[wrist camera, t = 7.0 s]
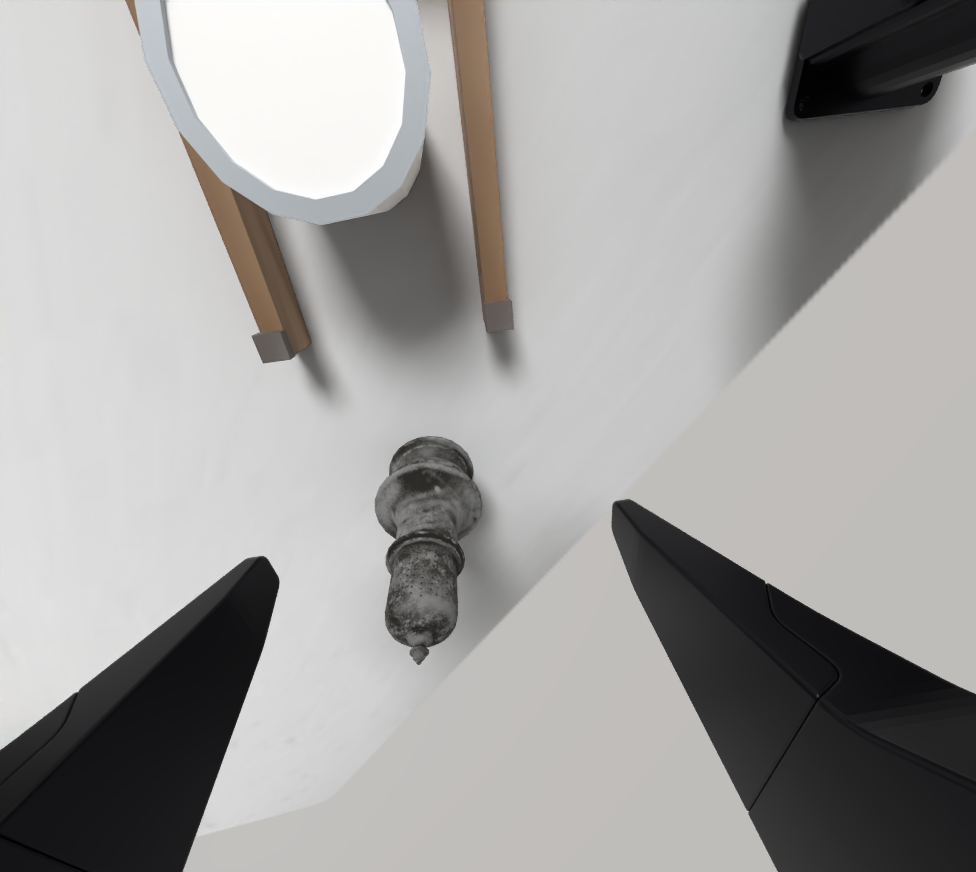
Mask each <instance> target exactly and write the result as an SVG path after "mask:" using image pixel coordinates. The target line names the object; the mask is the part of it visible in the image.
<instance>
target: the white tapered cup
mask: <svg viewBox="0 0 976 872" xmlns="http://www.w3.org/2000/svg"><path fill="white" fill-rule="evenodd" d="M134 1H135V7H136V13H137V19H138V25H139V31H140V37H141V43H142V49H143V55H144V60H145V62H146V64H147V66H148V69H149V71H150V73H151V75H152V77H153V79H154V81H155V83H156V85H157V88H158V90H159V92H160V94H161V96H162V98H163V100H164V102H165V104H166V107H167V109H168V111H169V113H170V115H171V117H172V119H173V121H174V123H175V126H176V128H177V130H178V131H179V132H180V133H181V134H182V135H183V137H184V138H185V139H186V140H187V141H188V142H189V144H190V145H191V146H192V147H193V148H194V149H195V151H196V152H197V153H198V154H199V155H200V157H201V158H202V159H203V160H204V161H205V162H206V164H207V165H208V166H209V167H210V168H211V169H212V171H213V172H214V173H215V174H216V175H217V176H218V178H219V179H220V180H221V181H222V182H223V183H225V184H226V185H228V186H229V187H231V188H232V189H234V190H235V191H237V192H238V193H240V194H242V195H243V196H245V197H246V198H248V199H249V200H251V201H252V202H254V203H255V204H257V205H259V206H260V207H262V208H263V209H265V210H266V211H268V212H269V213H271V214H273V215H278V216H282V217H287V218H291V219H296V220H300V221H305V222H309V223H313V224H318V225H325V224H330V223H335V222H339V221H344V220H349V219H354V218H359V217H364V216H368V215H373V214H377V213H382V212H386V211H389V210H390V209H392V208H393V207H394V206H395V205H397V204H398V203H399V202H400V201H401V200H403V199H404V198H405V197H406V196H407V195H408V194H409V192H410V190H411V188H412V186H413V184H414V182H415V179H416V177H417V175H418V173H419V171H420V166H421V159H422V152H423V145H424V138H425V128H426V118H427V108H428V98H429V88H430V78H431V71H430V66H429V61H428V56H427V51H426V45H425V40H424V35H423V30H422V25H421V20H420V15H419V10H418V5H417V0H134Z"/></svg>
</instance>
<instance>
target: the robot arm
mask: <svg viewBox="0 0 976 872" xmlns="http://www.w3.org/2000/svg"><path fill="white" fill-rule="evenodd" d="M975 63H976V0H810V2H809V7H808V12H807V16H806V21H805V25H804V30H803V35H802V39H801V44H800V49H799V53H798V58H797V62H796V67H795V72H794V76H793V81H792V85H791V90H790V95H789V99H788V104H787V109H786V115H787V118H788V119H789V120H790V121H794V122H795V121H803V120H812V119H820V118H828V117H837V116H845V115H854V114H862V113H871V112H879V111H887V110H896V109H904V108H912V107H915V106H919V105H922V104H925V103H927V102H928V101H929V100H931V99H932V97H933V96H934V95H935V93H936V91H937V89H938V86H939V84H940V81H941V78H942V75H943V74H946V73H949V72H952V71H955V70H958V69H961V68H964V67H967V66H970V65H973V64H975ZM922 88H923V89H922ZM921 90H922V93H921ZM801 100H802V101H803V108H802V110H800V102H801ZM612 531H613V535H614V537H615V540H616V543H617V545H618V548H619V550H620V553H621V556H622V558H623V561H624V564H625V566H626V569H627V572H628V575H629V577H630V580H631V582H632V585H633V587H634V590H635V592H636V594H637V596H638V598H639V600H640V602H641V604H642V606H643V608H644V609H645V612H646V614H647V615H648V618H649V619H650V622H651V623H652V625H653V627H654V629H655V631H656V633H657V635H658V637H659V639H660V641H661V643H662V645H663V647H664V649H665V651H666V653H667V655H668V657H669V659H670V661H671V662H672V665H673V667H674V669H675V671H676V672H677V674H678V676H679V678H680V680H681V682H682V684H683V686H684V688H685V690H686V692H687V694H688V696H689V698H690V700H691V702H692V704H693V706H694V708H695V710H696V712H697V714H698V715H699V718H700V720H701V722H702V723H703V725H704V727H705V729H706V731H707V733H708V735H709V737H710V739H711V741H712V743H713V745H714V747H715V749H716V751H717V753H718V755H719V757H720V759H721V761H722V763H723V765H724V766H725V769H726V770H727V773H728V774H729V776H730V778H731V780H732V782H733V784H734V786H735V788H736V790H737V792H738V794H739V796H740V798H741V800H742V802H743V803H744V806H745V808H746V809H747V810H748V811H749V816H750V818H751V820H752V822H753V824H754V826H755V828H756V830H757V832H758V834H759V836H760V838H761V840H762V841H763V844H764V845H765V847H766V850H767V851H768V853H769V855H770V857H771V859H772V861H773V863H774V865H775V867H776V869H777V871H778V872H976V694H974V693H972V692H970V691H967V690H965V689H963V688H961V687H959V686H957V685H955V684H953V683H950V682H948V681H946V680H944V679H942V678H940V677H938V676H937V675H935V674H933V673H931V672H929V671H927V670H925V669H923V668H921V667H920V666H918V665H916V664H914V663H912V662H910V661H908V660H906V659H904V658H902V657H901V656H899V655H897V654H895V653H893V652H891V651H889V650H887V649H885V648H883V647H881V646H880V645H877V644H876V643H874V642H872V641H870V640H868V639H866V638H864V637H862V636H860V635H859V634H857V633H855V632H853V631H851V630H849V629H847V628H846V627H843V626H842V625H840V624H838V623H836V622H835V621H833V620H831V619H829V618H827V617H825V616H824V615H822V614H820V613H818V612H816V611H814V610H813V609H811V608H809V607H808V606H806V605H804V604H802V603H801V602H799V601H797V600H795V599H794V598H792V597H791V596H789V595H787V594H785V593H784V592H782V591H780V590H779V589H777V588H776V587H774V586H772V585H771V584H769V583H767V584H766V583H765V581H764V580H762V579H761V578H759V577H757V576H756V575H754V574H752V573H751V572H749V571H747V570H746V569H744V568H742V567H741V566H739V565H738V564H736V563H734V562H733V561H731V560H729V559H728V558H726V557H724V556H723V555H721V554H719V553H718V552H716V551H714V550H713V549H711V548H710V547H708V546H706V545H705V544H703V543H701V542H700V541H698V540H696V539H695V538H693V537H691V536H690V535H688V534H687V533H685V532H683V531H682V530H680V529H678V528H677V527H675V526H673V525H671V524H670V523H668V522H667V521H665V520H664V519H662V518H660V517H659V516H657V515H655V514H653V513H652V512H650V511H649V510H647V509H645V508H644V507H642V506H640V505H638V504H637V503H636V502H634V501H632V500H630V499H625V500H619V501H615V502H614V503H613V506H612ZM278 589H279V577H278V575H277V574H276V572H275V570H274V569H273V567H272V565H271V564H270V562H269V560H268V559H267V558H266V557H264V556H258V557H251V558H247V559H245V560H244V561H243V562H241V563H240V564H239V565H237V566H236V567H235V568H234V569H232V570H231V571H230V572H228V573H227V574H226V575H225V576H223V577H222V578H221V579H220V580H218V581H217V582H216V583H214V584H213V585H212V586H211V587H209V588H208V589H207V590H206V591H204V592H203V593H202V594H200V595H199V596H198V597H197V598H195V599H194V600H193V601H192V602H190V603H189V604H188V605H186V606H185V607H184V608H183V609H181V610H180V611H179V612H177V613H176V614H175V615H174V616H172V617H171V618H170V619H169V620H167V621H166V622H165V623H163V624H162V625H161V626H160V627H158V628H157V629H156V630H155V631H153V632H152V633H151V634H149V635H148V636H147V637H146V638H144V639H143V640H142V641H141V642H139V643H138V644H137V645H135V646H134V647H133V648H132V649H130V650H129V651H128V652H126V653H125V654H124V655H123V656H121V657H120V658H119V659H118V660H116V661H115V662H114V663H112V664H111V665H110V666H109V667H107V668H106V669H105V670H104V671H102V672H101V673H100V674H98V675H97V676H96V677H95V678H93V679H92V680H91V681H89V682H88V683H87V684H86V685H84V686H83V687H82V688H81V689H80V690H79V692H77V693H74V694H73V695H71V696H70V697H69V698H68V699H66V700H65V701H64V702H63V703H61V704H60V705H59V706H58V707H56V708H55V709H54V710H52V711H51V712H50V713H49V714H47V715H46V716H45V717H43V718H42V719H41V720H39V721H38V722H37V723H36V724H34V725H33V726H32V727H30V728H29V729H28V730H26V731H25V732H24V733H23V734H21V735H20V736H19V737H17V738H16V739H15V740H13V741H12V742H11V743H9V744H8V745H7V746H5V747H4V748H3V749H1V750H0V872H183V869H184V867H185V864H186V861H187V858H188V855H189V853H190V850H191V847H192V844H193V841H194V839H195V836H196V833H197V830H198V828H199V825H200V822H201V819H202V817H203V814H204V811H205V808H206V806H207V803H208V800H209V797H210V794H211V792H212V789H213V786H214V783H215V781H216V778H217V775H218V772H219V770H220V767H221V764H222V761H223V758H224V756H225V753H226V750H227V747H228V745H229V742H230V739H231V736H232V733H233V731H234V728H235V725H236V722H237V720H238V717H239V714H240V711H241V709H242V706H243V703H244V700H245V697H246V695H247V692H248V689H249V686H250V684H251V681H252V678H253V675H254V673H255V670H256V667H257V664H258V661H259V659H260V656H261V653H262V650H263V647H264V643H265V640H266V636H267V632H268V628H269V625H270V621H271V617H272V613H273V609H274V605H275V601H276V597H277V593H278Z"/></svg>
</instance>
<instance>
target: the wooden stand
mask: <svg viewBox="0 0 976 872" xmlns="http://www.w3.org/2000/svg"><path fill="white" fill-rule="evenodd" d="M125 1H126V3H127V5H128V8H129V10H130V13H131V15H132V18H133V20H134V23H135V25H136V28H137V30H138V33H139V35H140V31H139V25H138V19H137V13H136V7H135V1H134V0H125ZM448 8H449V17H450V26H451V35H452V44H453V52H454V61H455V70H456V79H457V88H458V97H459V106H460V114H461V123H462V132H463V141H464V150H465V159H466V168H467V176H468V185H469V194H470V203H471V212H472V221H473V230H474V238H475V247H476V256H477V265H478V274H479V283H480V292H481V300H482V309H483V318H484V322H485V324H486V331H487V333H491V332H499V331H506V330H513V329H514V325H513V312H512V301H511V300H507V288H506V275H505V263H504V250H503V238H502V226H501V213H500V201H499V188H498V176H497V163H496V151H495V139H494V126H493V114H492V101H491V89H490V76H489V64H488V51H487V39H486V27H485V14H484V2H483V0H448ZM179 134H180V136H181V138H182V141H183V143H184V146H185V148H186V151H187V153H188V156H189V158H190V161H191V163H192V166H193V168H194V170H195V173H196V175H197V178H198V180H199V183H200V185H201V188H202V190H203V193H204V195H205V198H206V200H207V202H208V205H209V207H210V210H211V212H212V215H213V217H214V220H215V222H216V225H217V227H218V230H219V232H220V234H221V237H222V239H223V242H224V244H225V247H226V249H227V252H228V254H229V257H230V259H231V262H232V264H233V266H234V269H235V271H236V274H237V276H238V279H239V281H240V284H241V286H242V289H243V291H244V294H245V296H246V298H247V301H248V303H249V306H250V308H251V311H252V313H253V316H254V318H255V321H256V323H257V326H258V328H259V331H260V333H257V334H255V335H253V336H252V338H253V341H254V343H255V345H256V348H257V350H258V353H259V355H260V357H261V360H262V362H263V363H269V362H277V361H284V360H291V359H292V358H293V357H295V355H296V354H297V353H298V352H300V351H301V350H303V349H304V348H305V347H307V346H308V345H309V344H311V340H310V337H309V335H308V332H307V329H306V326H305V323H304V320H303V317H302V314H301V311H300V308H299V305H298V303H297V300H296V297H295V294H294V291H293V288H292V285H291V282H290V279H289V276H288V274H287V271H286V268H285V265H284V262H283V259H282V256H281V253H280V250H279V247H278V244H277V242H276V239H275V236H274V233H273V230H272V227H271V224H270V221H269V218H268V215H267V212H266V210H265V209H263V208H262V207H260V206H259V205H257V204H255V203H254V202H252V201H251V200H249V199H248V198H246V197H245V196H243V195H242V194H240V193H238V192H237V191H235V190H234V189H232V188H231V187H229V186H228V185H226V184H225V183H223V182H222V181H221V180H220V179H219V178H218V176H217V175H216V174H215V173H214V172H213V171H212V169H211V168H210V167H209V166H208V165H207V164H206V162H205V161H204V160H203V159H202V158H201V157H200V155H199V154H198V153H197V152H196V151H195V149H194V148H193V147H192V146H191V145H190V144H189V142H188V141H187V140H186V139H185V138H184V137H183V135H182V134H181V133H180V132H179Z"/></svg>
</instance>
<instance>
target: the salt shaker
mask: <svg viewBox="0 0 976 872" xmlns="http://www.w3.org/2000/svg"><path fill="white" fill-rule="evenodd" d="M472 477H473V467H472V462H471V460H470V458H469V456H468V454H467V453H466V452H465V451H464V450H463V448H462V447H461V446H459V445H458V444H456V443H454V442H453V441H451V440H448V439H445V438H442V437H432V436H428V437H421V438H417V439H414V440H412V441H409V442H407V443H406V444H405V445H403V446H402V447H400V448H399V449H398V451H397V452H396V453H395V455H394V456H393V458H392V461H391V464H390V472H389V477H387V478H386V480H385V481H384V482H383V484H382V485H381V486H380V487H379V490H378V493H377V496H376V498H375V513H376V516H377V518H378V521H379V523H380V524H381V526H382V527H383V528H384V530H385V531H386V532H387V533H388V534H390V535H391V536H392V537H393V538H395V539H396V541H394V543H393V544H392V545H391V546H390V547H389V549H388V552H387V554H386V566H387V569H388V572H389V573H390V574H391V581H390V587H389V593H388V598H387V604H386V610H385V622H386V627H387V629H388V631H389V633H390V634H391V635H392V637H393V638H394V639H395V640H396V641H398V642H400V643H401V644H404V645H407V646H410V647H414V648H412V649H411V650H410V655H411V656H412V657H413V660H414V661H415V662H416V664H418V665H420V664H421V662H422V661H423V660H424V659H425V657H426V656H427V655H428V654H429V650H428V649H427V648H426V647H431V646H434V645H436V644H439V643H441V642H442V641H444V640H445V639H446V638H447V637H448V636H449V635H450V634H451V633H452V631H453V630H454V628H455V626H456V622H457V616H458V598H457V576H458V575H459V574H460V573H461V571H462V569H463V567H464V561H465V558H464V553H463V550H462V549H461V547H460V545H459V544H458V540H460V539H461V538H463V537H464V536H466V535H467V534H468V533H469V532H470V531H471V530H472V529H473V528H474V527H475V526H476V524H477V522H478V520H479V518H480V516H481V510H482V501H481V494H480V492H479V490H478V488H477V486H476V484H475V483H474V482H473V481H472Z"/></svg>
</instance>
